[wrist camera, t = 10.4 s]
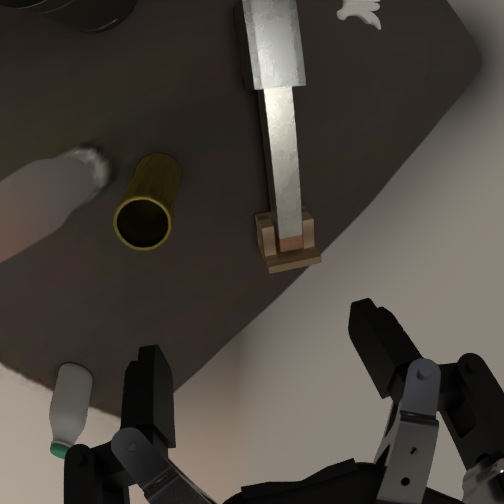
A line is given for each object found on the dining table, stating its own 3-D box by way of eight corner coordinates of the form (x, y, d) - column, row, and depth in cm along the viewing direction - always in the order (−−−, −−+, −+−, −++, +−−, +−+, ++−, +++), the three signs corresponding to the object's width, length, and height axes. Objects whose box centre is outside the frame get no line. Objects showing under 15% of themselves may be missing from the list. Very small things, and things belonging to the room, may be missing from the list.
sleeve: (232, 8, 27) (241, -7, 22) (277, 5, 28) (294, -8, 22) (244, 88, 33) (254, 89, 28) (287, 84, 34) (306, 85, 28)
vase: (190, 167, 37) (190, 213, 25) (166, 206, 39) (156, 266, 27) (150, 143, 35) (127, 178, 23) (126, 184, 37) (97, 236, 25)
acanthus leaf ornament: (330, -23, 26) (336, -27, 25) (374, -14, 27) (381, -17, 26) (334, 23, 30) (341, 21, 29) (378, 30, 31) (386, 29, 30)
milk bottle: (63, 356, 50) (43, 442, 34) (97, 371, 54) (85, 457, 37) (57, 374, 53) (40, 453, 36) (88, 387, 56) (78, 466, 39)
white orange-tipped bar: (254, 74, 31) (261, 73, 28) (279, 72, 31) (289, 71, 28) (273, 237, 43) (280, 252, 40) (294, 233, 43) (302, 247, 40)
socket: (254, 213, 42) (265, 238, 36) (303, 205, 43) (321, 227, 37) (258, 246, 45) (269, 273, 39) (304, 236, 46) (321, 262, 40)
